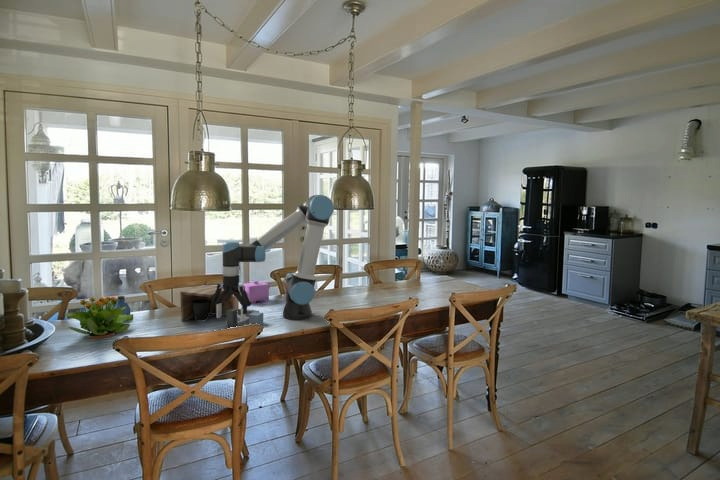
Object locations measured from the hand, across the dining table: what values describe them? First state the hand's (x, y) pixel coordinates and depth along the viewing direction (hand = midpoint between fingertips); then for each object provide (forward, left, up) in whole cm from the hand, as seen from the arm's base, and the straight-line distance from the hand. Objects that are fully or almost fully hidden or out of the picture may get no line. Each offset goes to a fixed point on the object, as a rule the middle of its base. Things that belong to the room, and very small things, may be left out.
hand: (231, 318), depth 198 cm
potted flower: (+47, +30, -5) cm, 56 cm away
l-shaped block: (+23, -25, -5) cm, 34 cm away
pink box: (+19, -47, -5) cm, 51 cm away
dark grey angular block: (+4, -10, -5) cm, 12 cm away
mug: (+22, -8, -5) cm, 24 cm away
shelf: (+22, -10, -5) cm, 24 cm away
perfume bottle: (+60, +8, -5) cm, 60 cm away
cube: (-6, -11, -5) cm, 14 cm away
